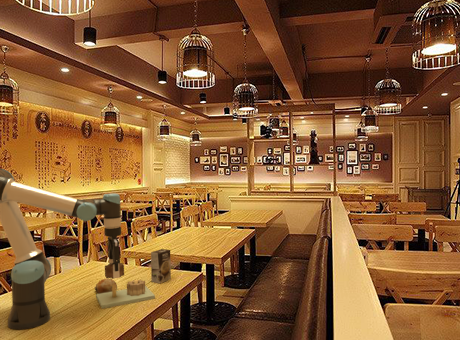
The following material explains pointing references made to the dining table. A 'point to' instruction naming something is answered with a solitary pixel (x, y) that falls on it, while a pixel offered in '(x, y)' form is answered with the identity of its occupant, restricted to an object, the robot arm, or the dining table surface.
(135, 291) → the beech gear
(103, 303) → the gear board
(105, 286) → the bread roll
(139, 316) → the dining table surface
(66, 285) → the dining table surface
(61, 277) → the dining table surface
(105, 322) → the dining table surface
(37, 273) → the robot arm
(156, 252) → the coffee box
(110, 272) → the walnut gear
